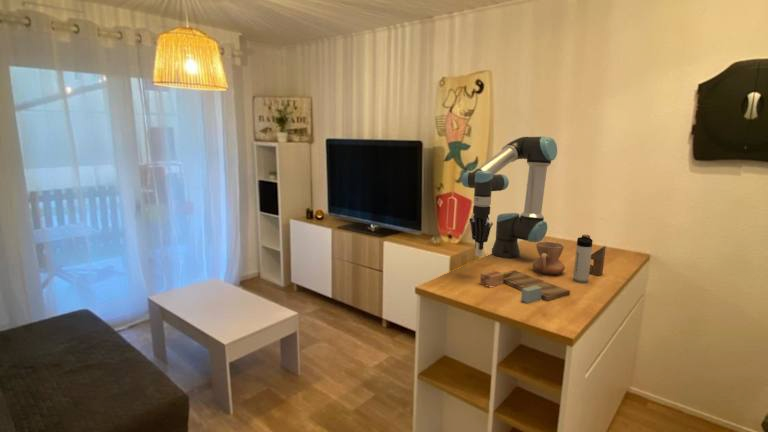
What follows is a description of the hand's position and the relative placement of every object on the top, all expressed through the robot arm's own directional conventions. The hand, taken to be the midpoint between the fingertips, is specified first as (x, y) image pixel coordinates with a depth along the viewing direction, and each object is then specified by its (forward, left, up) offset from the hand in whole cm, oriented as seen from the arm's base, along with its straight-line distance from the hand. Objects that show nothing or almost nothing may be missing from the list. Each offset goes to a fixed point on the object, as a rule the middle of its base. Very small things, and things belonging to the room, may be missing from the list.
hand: (478, 255), depth 188 cm
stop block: (+31, 0, -10) cm, 33 cm away
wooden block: (+21, +53, -11) cm, 58 cm away
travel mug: (+26, +39, -11) cm, 48 cm away
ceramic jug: (+11, +35, -11) cm, 38 cm away
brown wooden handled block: (+10, +3, -11) cm, 15 cm away
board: (+20, +12, -10) cm, 25 cm away
